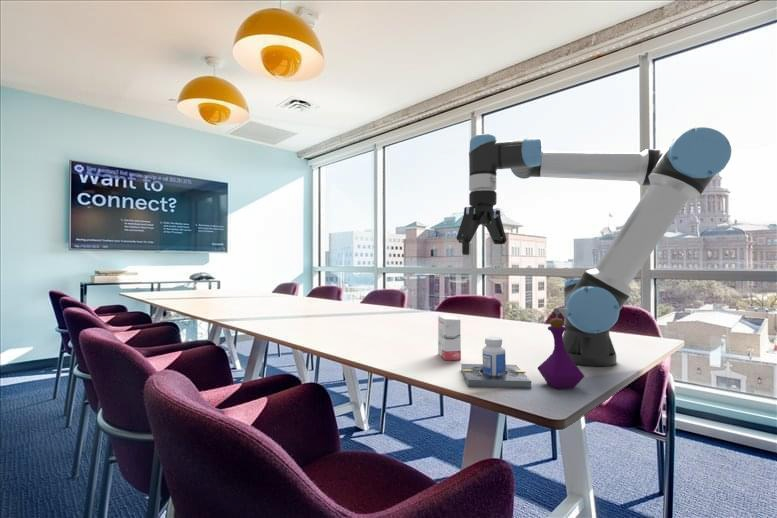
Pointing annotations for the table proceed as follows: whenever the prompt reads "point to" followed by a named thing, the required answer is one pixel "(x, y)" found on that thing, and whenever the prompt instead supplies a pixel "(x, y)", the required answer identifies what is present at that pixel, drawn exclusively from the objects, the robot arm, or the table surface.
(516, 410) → the table surface
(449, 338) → the ink box
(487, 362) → the pill bottle
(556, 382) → the perfume bottle
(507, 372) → the socket plate
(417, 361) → the table surface
